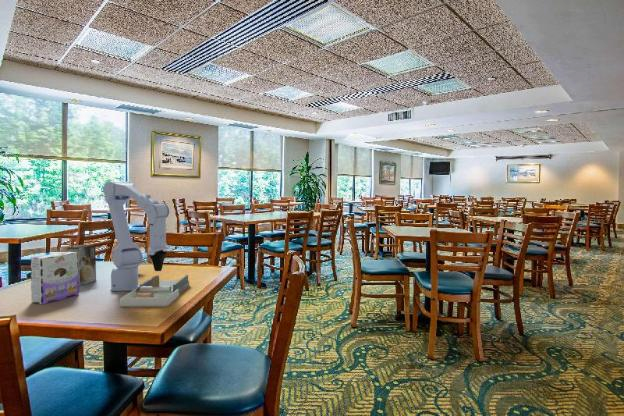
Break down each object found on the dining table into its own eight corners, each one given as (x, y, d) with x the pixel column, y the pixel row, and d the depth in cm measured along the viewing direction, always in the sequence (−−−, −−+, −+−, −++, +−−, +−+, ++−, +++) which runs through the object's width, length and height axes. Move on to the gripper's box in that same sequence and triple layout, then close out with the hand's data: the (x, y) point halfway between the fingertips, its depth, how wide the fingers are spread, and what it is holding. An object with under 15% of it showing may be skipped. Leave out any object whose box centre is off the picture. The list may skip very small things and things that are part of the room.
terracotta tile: (138, 299, 136) (138, 294, 136) (142, 296, 140) (142, 291, 140) (149, 299, 136) (149, 294, 136) (153, 296, 140) (153, 291, 140)
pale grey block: (139, 291, 139) (139, 277, 139) (142, 290, 141) (142, 275, 141) (169, 291, 139) (169, 277, 139) (171, 290, 141) (171, 275, 141)
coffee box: (84, 280, 167) (83, 244, 167) (96, 280, 166) (96, 244, 165) (66, 285, 158) (66, 247, 158) (79, 285, 157) (79, 247, 156)
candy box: (69, 293, 146) (68, 251, 145) (79, 294, 144) (78, 252, 143) (30, 302, 133) (29, 256, 132) (41, 304, 131) (40, 257, 130)
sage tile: (153, 299, 136) (153, 294, 136) (158, 296, 140) (157, 291, 140) (165, 299, 136) (165, 294, 136) (168, 296, 140) (168, 291, 140)
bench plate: (138, 296, 142) (138, 284, 141) (155, 285, 159) (155, 274, 158) (176, 296, 142) (176, 284, 142) (189, 285, 159) (189, 274, 159)
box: (120, 306, 129) (120, 298, 129) (135, 296, 142) (135, 288, 141) (167, 306, 130) (167, 297, 130) (178, 296, 142) (178, 288, 142)
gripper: (161, 237, 136) (161, 275, 136) (174, 233, 150) (175, 266, 151) (141, 237, 136) (142, 274, 136) (156, 233, 150) (157, 266, 151)
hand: (158, 270), depth 144 cm, fingers closed
